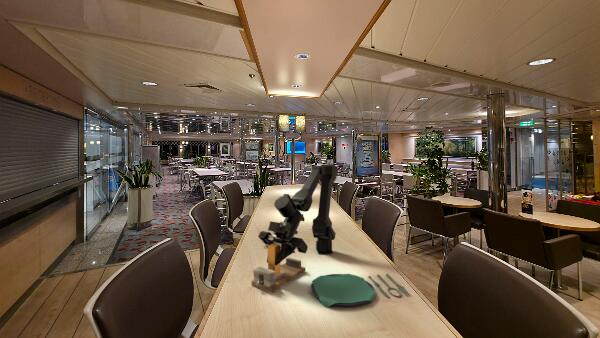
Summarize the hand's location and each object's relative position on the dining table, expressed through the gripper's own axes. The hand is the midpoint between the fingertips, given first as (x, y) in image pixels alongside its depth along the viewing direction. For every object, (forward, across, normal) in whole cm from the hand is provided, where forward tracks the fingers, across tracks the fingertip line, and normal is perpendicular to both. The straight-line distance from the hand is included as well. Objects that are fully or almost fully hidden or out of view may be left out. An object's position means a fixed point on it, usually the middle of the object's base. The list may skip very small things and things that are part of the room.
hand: (271, 263), depth 93 cm
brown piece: (+2, 0, +8) cm, 8 cm away
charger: (-17, -24, +27) cm, 40 cm away
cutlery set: (-2, +26, +13) cm, 29 cm away
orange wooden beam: (+5, 0, +2) cm, 5 cm away
